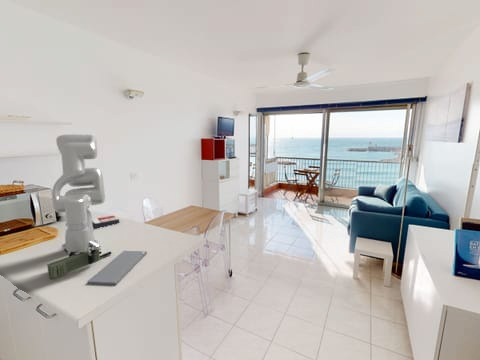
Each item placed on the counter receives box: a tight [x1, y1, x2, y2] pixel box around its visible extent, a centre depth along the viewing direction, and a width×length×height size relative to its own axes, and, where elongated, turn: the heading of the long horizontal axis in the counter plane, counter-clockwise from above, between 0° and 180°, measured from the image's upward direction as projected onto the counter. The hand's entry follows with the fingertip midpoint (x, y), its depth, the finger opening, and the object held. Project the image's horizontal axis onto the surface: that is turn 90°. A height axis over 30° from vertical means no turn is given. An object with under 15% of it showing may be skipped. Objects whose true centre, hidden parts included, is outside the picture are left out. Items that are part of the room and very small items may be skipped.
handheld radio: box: [46, 245, 112, 280], centre depth 106 cm, size 7×3×25 cm
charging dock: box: [86, 250, 148, 286], centre depth 106 cm, size 12×26×1 cm, turn 176°
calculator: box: [92, 215, 120, 230], centre depth 159 cm, size 11×4×15 cm
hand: (82, 262), depth 107 cm, fingers open, 8 cm apart
